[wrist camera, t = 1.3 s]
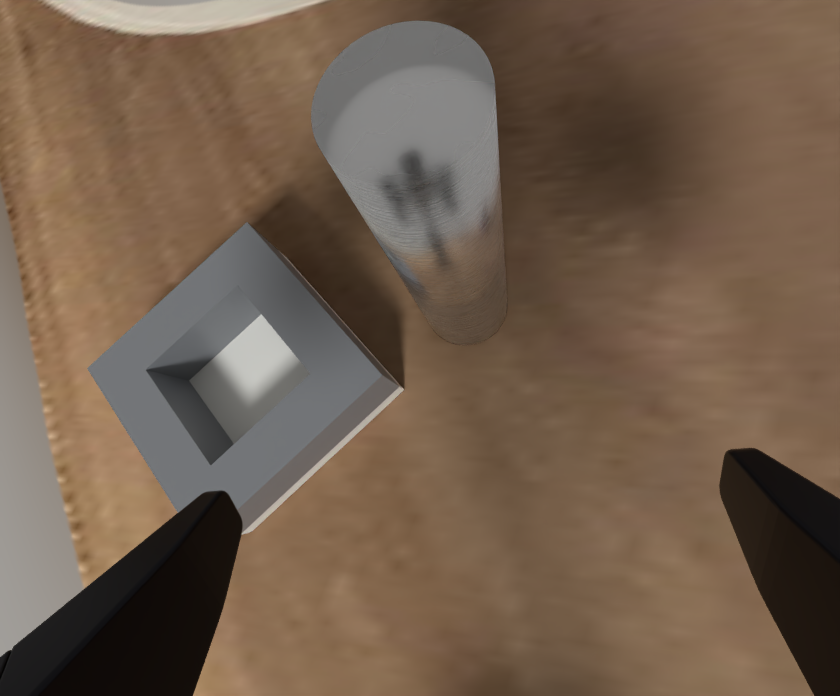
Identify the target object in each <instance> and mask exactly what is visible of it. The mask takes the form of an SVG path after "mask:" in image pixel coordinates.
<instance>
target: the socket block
mask: <svg viewBox="0 0 840 696" xmlns="http://www.w3.org/2000/svg"><path fill="white" fill-rule="evenodd" d="M87 369H88V371H89V372H90V374H91V375H92V377H93V378H94V380H95V382H96V383H97V385H98V386H99V388H100V390H101V391H102V393H103V394H104V396H105V398H106V399H107V401H108V402H109V404H110V405H111V407H112V409H113V410H114V412H115V413H116V415H117V417H118V418H119V420H120V421H121V423H122V425H123V426H124V428H125V429H126V431H127V433H128V434H129V436H130V437H131V439H132V440H133V442H134V444H135V445H136V447H137V448H138V450H139V452H140V453H141V455H142V456H143V458H144V460H145V461H146V463H147V464H148V466H149V467H150V469H151V471H152V472H153V474H154V475H155V477H156V479H157V480H158V482H159V483H160V485H161V487H162V488H163V490H164V491H165V493H166V494H167V496H168V498H169V499H170V501H171V502H172V504H173V506H174V507H175V509H176V510H177V512H180V511H181V510H182V509H183V508H185V507H186V506H187V505H188V504H190V503H191V502H192V501H193V500H194V499H196V498H197V497H198V496H199V495H201V494H202V493H204V492H207V491H219V490H223V491H226V492H227V493H228V494H229V496H230V497H231V499H232V501H233V503H234V505H235V506H236V508H237V510H238V512H239V514H240V516H241V518H242V522H243V529H242V534H246V533H249V532H252V531H253V530H254V529H255V528H256V527H257V526H258V525H259V524H261V523H262V522H263V521H264V520H265V519H266V518H267V517H268V516H269V515H270V514H271V513H272V512H273V511H275V510H276V509H277V508H278V507H279V506H280V505H281V504H282V503H283V502H284V501H285V500H286V499H287V498H289V497H290V496H291V495H292V494H293V493H294V492H295V491H296V490H297V489H298V488H299V487H300V486H301V485H303V484H304V483H305V482H306V481H307V480H308V479H309V478H310V477H311V476H312V475H313V474H314V473H315V472H316V471H318V470H319V469H320V468H321V467H322V466H323V465H324V464H325V463H326V462H327V461H328V460H329V459H330V458H332V457H333V456H334V455H335V454H336V453H337V452H338V451H339V450H340V449H341V448H342V447H343V446H344V445H346V444H347V443H348V442H349V441H350V440H351V439H352V438H353V437H354V436H355V435H356V434H357V433H358V432H359V431H361V430H362V429H363V428H364V427H365V426H366V425H367V424H368V423H369V422H370V421H371V420H372V419H373V418H375V417H376V416H377V415H378V414H379V413H380V412H381V411H382V410H383V409H384V408H385V407H386V406H387V405H389V404H390V403H391V402H392V401H393V400H394V399H395V398H396V397H397V396H398V395H399V394H400V393H401V392H402V391H404V389H403V388H402V386H401V385H400V384H399V383H398V382H397V381H396V380H395V379H394V377H393V376H392V375H391V374H390V373H389V372H388V371H387V370H386V369H385V367H384V366H383V365H382V364H381V363H380V362H379V361H378V360H377V358H376V357H375V356H374V355H373V354H372V353H371V352H370V351H369V349H368V348H367V347H366V346H365V345H364V344H363V343H362V342H361V340H360V339H359V338H358V337H357V336H356V335H355V334H354V333H353V331H352V330H351V329H350V328H349V327H348V326H347V325H346V324H345V322H344V321H343V320H342V319H341V318H340V317H339V316H338V315H337V314H336V312H335V311H334V310H333V309H332V308H331V307H330V306H329V305H328V303H327V302H326V301H325V300H324V299H323V298H322V297H321V296H320V294H319V293H318V292H317V291H316V290H315V289H314V288H313V287H312V285H311V284H310V283H309V282H308V281H307V280H306V279H305V278H304V276H303V275H302V274H301V273H300V272H299V271H298V270H297V269H296V268H295V266H294V265H293V264H292V263H291V262H290V261H289V260H288V259H287V257H286V256H284V255H283V254H282V253H281V252H280V251H279V250H278V249H277V248H275V247H274V246H273V245H272V244H271V243H270V242H269V241H268V240H267V239H265V238H264V237H263V236H262V235H261V234H260V233H259V232H258V231H256V230H255V229H254V228H253V227H252V226H251V225H250V224H249V223H248V222H246V223H245V224H244V225H243V226H242V227H241V228H240V229H239V230H238V231H237V232H236V233H234V234H233V235H232V236H231V237H230V238H229V239H228V240H227V241H226V242H225V243H224V244H222V245H221V246H220V247H219V248H218V249H217V250H216V251H215V252H214V253H213V254H212V255H210V256H209V257H208V258H207V259H206V260H205V261H204V262H203V263H202V264H201V265H200V266H198V267H197V268H196V269H195V270H194V271H193V272H192V273H191V274H190V275H189V276H188V277H186V278H185V279H184V280H183V281H182V282H181V283H180V284H179V285H178V286H177V287H175V288H174V289H173V290H172V291H171V292H170V293H169V294H168V295H167V296H166V297H165V298H163V299H162V300H161V301H160V302H159V303H158V304H157V305H156V306H155V307H154V308H153V309H151V310H150V311H149V312H148V313H147V314H146V315H145V316H144V317H143V318H142V319H141V320H139V321H138V322H137V323H136V324H135V325H134V326H133V327H132V328H131V329H130V330H129V331H127V332H126V333H125V334H124V335H123V336H122V337H121V338H120V339H119V340H118V341H117V342H115V343H114V344H113V345H112V346H111V347H110V348H109V349H108V350H107V351H106V352H105V353H103V354H102V355H101V356H100V357H99V358H98V359H97V360H96V361H95V362H94V363H93V364H91V365H90V366H89V367H88V368H87ZM242 534H241V535H242Z"/></svg>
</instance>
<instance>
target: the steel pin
mask: <svg viewBox="0 0 840 696" xmlns="http://www.w3.org/2000/svg"><path fill="white" fill-rule="evenodd" d="M311 121H312V129H313V133H314V137H315V140H316V142H317V144H318V147H319V148H320V150H321V151H322V153H323V155H324V156H325V158H326V159H327V161H328V163H329V164H330V166H331V167H332V169H333V171H334V172H335V174H336V175H337V177H338V179H339V180H340V182H341V183H342V185H343V187H344V188H345V190H346V191H347V193H348V195H349V196H350V198H351V199H352V201H353V203H354V204H355V206H356V207H357V209H358V211H359V212H360V214H361V215H362V217H363V219H364V220H365V222H366V223H367V225H368V227H369V228H370V230H371V231H372V233H373V234H374V236H375V238H376V239H377V241H378V242H379V244H380V246H381V247H382V249H383V250H384V252H385V254H386V255H387V257H388V258H389V260H390V262H391V263H392V265H393V266H394V268H395V270H396V271H397V273H398V274H399V276H400V278H401V279H402V281H403V282H404V284H405V286H406V287H407V289H408V290H409V292H410V294H411V295H412V297H413V298H414V300H415V302H416V303H417V305H418V306H419V308H420V310H421V311H422V313H423V314H424V316H425V318H426V319H427V321H428V322H429V324H430V326H431V327H432V329H433V330H434V331H435V332H436V334H438V335H439V336H440V337H441V338H443V339H444V340H446V341H448V342H450V343H453V344H458V345H472V344H477V343H480V342H482V341H485V340H486V339H488V338H490V337H491V336H492V335H493V334H495V333H496V332H497V330H498V329H499V328H500V327H501V325H502V323H503V321H504V319H505V316H506V313H507V289H506V271H505V254H504V236H503V219H502V201H501V184H500V166H499V149H498V131H497V114H496V96H495V79H494V74H493V70H492V67H491V64H490V62H489V59H488V58H487V56H486V54H485V53H484V51H483V50H482V48H481V47H480V46H479V45H478V44H477V43H476V42H475V41H474V40H473V39H472V38H471V37H469V36H468V35H467V34H465V33H463V32H462V31H460V30H458V29H456V28H454V27H451V26H449V25H445V24H442V23H437V22H431V21H406V22H400V23H395V24H391V25H388V26H384V27H382V28H379V29H377V30H374V31H372V32H370V33H368V34H366V35H364V36H362V37H361V38H359V39H358V40H356V41H355V42H353V43H352V44H350V45H349V46H348V47H347V48H346V49H344V50H343V51H342V52H341V53H340V54H339V55H338V56H337V57H336V58H335V59H334V61H333V62H332V63H331V64H330V66H329V67H328V68H327V70H326V71H325V73H324V74H323V76H322V78H321V80H320V82H319V84H318V86H317V89H316V92H315V95H314V98H313V103H312V111H311Z"/></svg>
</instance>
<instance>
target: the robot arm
mask: <svg viewBox="0 0 840 696" xmlns="http://www.w3.org/2000/svg"><path fill="white" fill-rule="evenodd" d="M719 487H720V495H721V498H722V501H723V504H724V506H725V509H726V511H727V514H728V516H729V519H730V521H731V524H732V526H733V529H734V531H735V534H736V536H737V539H738V541H739V544H740V546H741V549H742V551H743V553H744V556H745V558H746V561H747V563H748V566H749V568H750V571H751V573H752V576H753V578H754V580H755V583H756V585H757V587H758V590H759V592H760V594H761V596H762V598H763V600H764V602H765V604H766V606H767V608H768V609H769V611H770V613H771V615H772V617H773V619H774V621H775V623H776V624H777V626H778V628H779V630H780V632H781V634H782V636H783V638H784V639H785V641H786V643H787V645H788V647H789V649H790V651H791V653H792V655H793V656H794V658H795V660H796V662H797V664H798V666H799V668H800V670H801V671H802V673H803V675H804V677H805V679H806V681H807V683H808V685H809V687H810V688H811V690H812V692H813V694H814V696H840V499H839V498H838V497H836V496H834V495H833V494H831V493H829V492H828V491H826V490H824V489H823V488H821V487H819V486H818V485H816V484H814V483H813V482H811V481H809V480H808V479H806V478H804V477H803V476H801V475H800V474H798V473H796V472H795V471H793V470H791V469H790V468H788V467H786V466H785V465H783V464H781V463H780V462H778V461H776V460H775V459H773V458H771V457H770V456H768V455H766V454H765V453H763V452H761V451H760V450H758V449H755V448H743V449H731V450H728V451H727V452H726V453H725V455H724V460H723V466H722V472H721V478H720V485H719ZM242 529H243V522H242V518H241V516H240V514H239V512H238V510H237V508H236V506H235V505H234V503H233V501H232V499H231V497H230V496H229V494H228V493H227V492H226V491H223V490H219V491H207V492H204V493H202V494H201V495H199V496H198V497H197V498H196V499H194V500H193V501H192V502H191V503H190V504H188V505H187V506H186V507H185V508H183V509H182V510H181V511H180V512H178V513H177V514H176V515H175V516H174V517H172V518H171V519H170V520H169V521H167V522H166V523H165V524H164V525H162V526H161V527H160V528H159V529H158V530H156V531H155V532H154V533H153V534H151V535H150V536H149V537H148V538H146V539H145V540H144V541H143V542H142V543H140V544H139V545H138V546H137V547H135V548H134V549H133V550H132V551H130V552H129V553H128V554H127V555H126V556H124V557H123V558H122V559H121V560H119V561H118V562H117V563H116V564H114V565H113V566H112V567H111V568H110V569H108V570H107V571H106V572H105V573H103V574H102V575H101V576H100V577H98V578H97V579H96V580H95V581H94V582H92V583H91V584H90V585H89V586H87V587H86V588H85V589H84V590H82V591H81V592H80V593H79V594H78V595H76V596H75V597H74V598H73V599H71V600H70V601H69V602H68V603H66V604H65V605H64V606H63V607H62V608H61V609H59V610H58V611H57V612H55V613H54V614H53V615H52V616H50V617H49V618H48V619H47V620H46V621H44V622H43V623H42V624H41V625H39V626H38V627H37V628H36V629H35V630H33V631H32V632H31V633H29V634H28V635H27V636H26V637H25V638H23V639H22V640H21V641H20V642H18V643H17V644H16V645H15V646H14V647H13V649H12V650H10V651H7V652H6V653H5V654H3V655H2V656H1V657H0V696H193V694H194V691H195V688H196V685H197V682H198V679H199V676H200V674H201V671H202V668H203V665H204V662H205V659H206V656H207V653H208V651H209V648H210V645H211V642H212V639H213V636H214V633H215V631H216V628H217V625H218V622H219V619H220V616H221V613H222V610H223V606H224V603H225V599H226V595H227V591H228V587H229V583H230V579H231V575H232V571H233V567H234V563H235V559H236V555H237V550H238V546H239V542H240V538H241V534H242Z"/></svg>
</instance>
